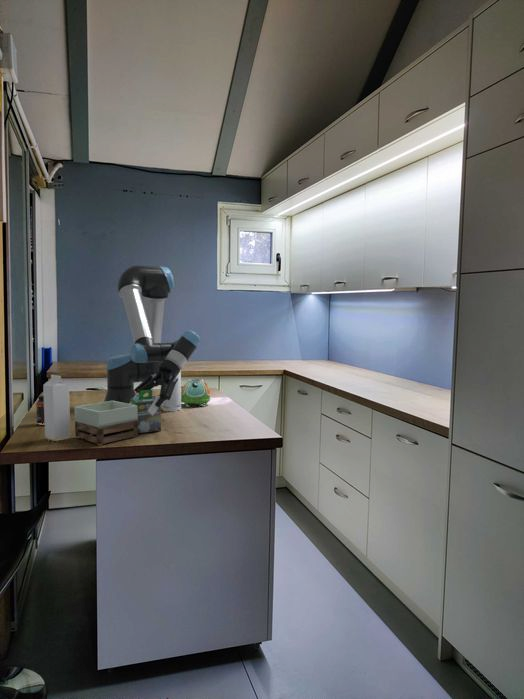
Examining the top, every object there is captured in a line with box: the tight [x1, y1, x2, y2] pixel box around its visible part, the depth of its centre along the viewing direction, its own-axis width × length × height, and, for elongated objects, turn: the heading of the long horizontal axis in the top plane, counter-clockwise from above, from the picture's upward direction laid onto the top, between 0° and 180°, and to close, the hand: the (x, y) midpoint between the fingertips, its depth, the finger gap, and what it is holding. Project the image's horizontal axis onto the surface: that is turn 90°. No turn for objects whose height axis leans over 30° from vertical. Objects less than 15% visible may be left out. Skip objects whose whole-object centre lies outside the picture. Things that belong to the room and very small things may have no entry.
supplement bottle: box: [35, 394, 45, 424], centre depth 194 cm, size 6×6×11 cm
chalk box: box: [130, 389, 162, 434], centre depth 184 cm, size 9×9×15 cm
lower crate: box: [74, 420, 139, 446], centre depth 174 cm, size 15×15×6 cm
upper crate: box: [74, 401, 138, 427], centre depth 173 cm, size 15×15×5 cm
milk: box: [42, 374, 71, 440], centre depth 171 cm, size 6×6×22 cm
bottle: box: [162, 369, 182, 412], centre depth 222 cm, size 8×8×28 cm
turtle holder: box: [181, 378, 211, 408], centre depth 233 cm, size 12×18×12 cm
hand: (139, 411), depth 182 cm, fingers closed on chalk box, 11 cm apart
